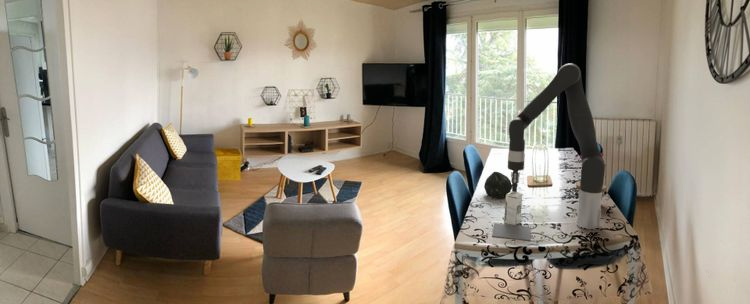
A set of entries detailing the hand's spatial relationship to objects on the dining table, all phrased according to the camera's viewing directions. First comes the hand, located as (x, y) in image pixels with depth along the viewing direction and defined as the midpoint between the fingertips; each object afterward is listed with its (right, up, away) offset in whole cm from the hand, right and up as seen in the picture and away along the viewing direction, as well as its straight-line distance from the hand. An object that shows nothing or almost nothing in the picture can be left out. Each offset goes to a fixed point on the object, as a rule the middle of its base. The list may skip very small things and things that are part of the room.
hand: (514, 193), depth 227 cm
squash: (0, -4, +31) cm, 32 cm away
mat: (-6, -16, -17) cm, 24 cm away
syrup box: (-3, -13, -7) cm, 15 cm away
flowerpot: (+44, -7, +17) cm, 48 cm away
